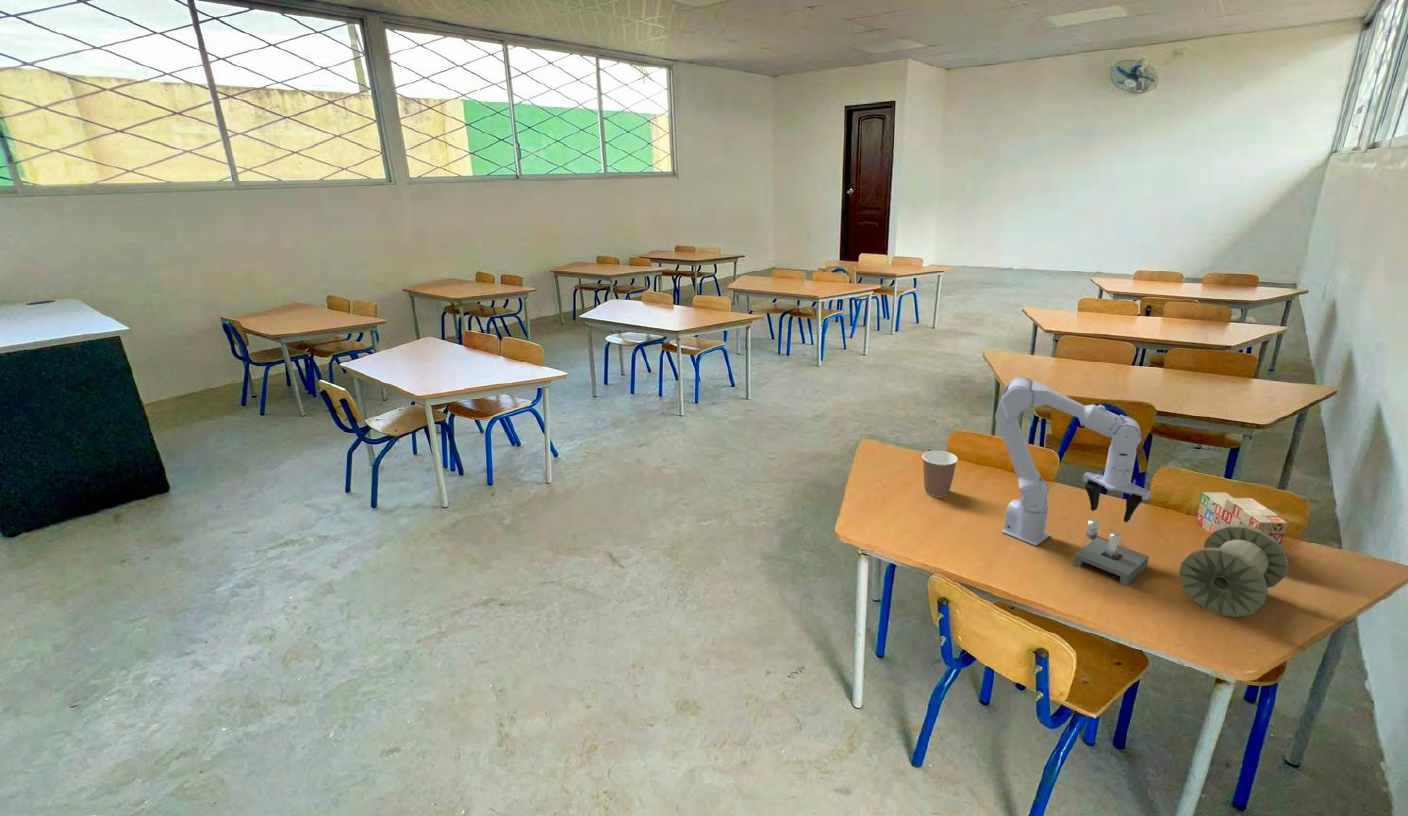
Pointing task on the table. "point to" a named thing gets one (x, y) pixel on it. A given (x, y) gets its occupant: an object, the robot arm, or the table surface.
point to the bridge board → (1124, 567)
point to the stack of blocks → (1238, 514)
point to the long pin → (1113, 545)
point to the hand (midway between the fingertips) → (1110, 514)
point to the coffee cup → (938, 472)
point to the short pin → (1092, 528)
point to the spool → (1234, 570)
